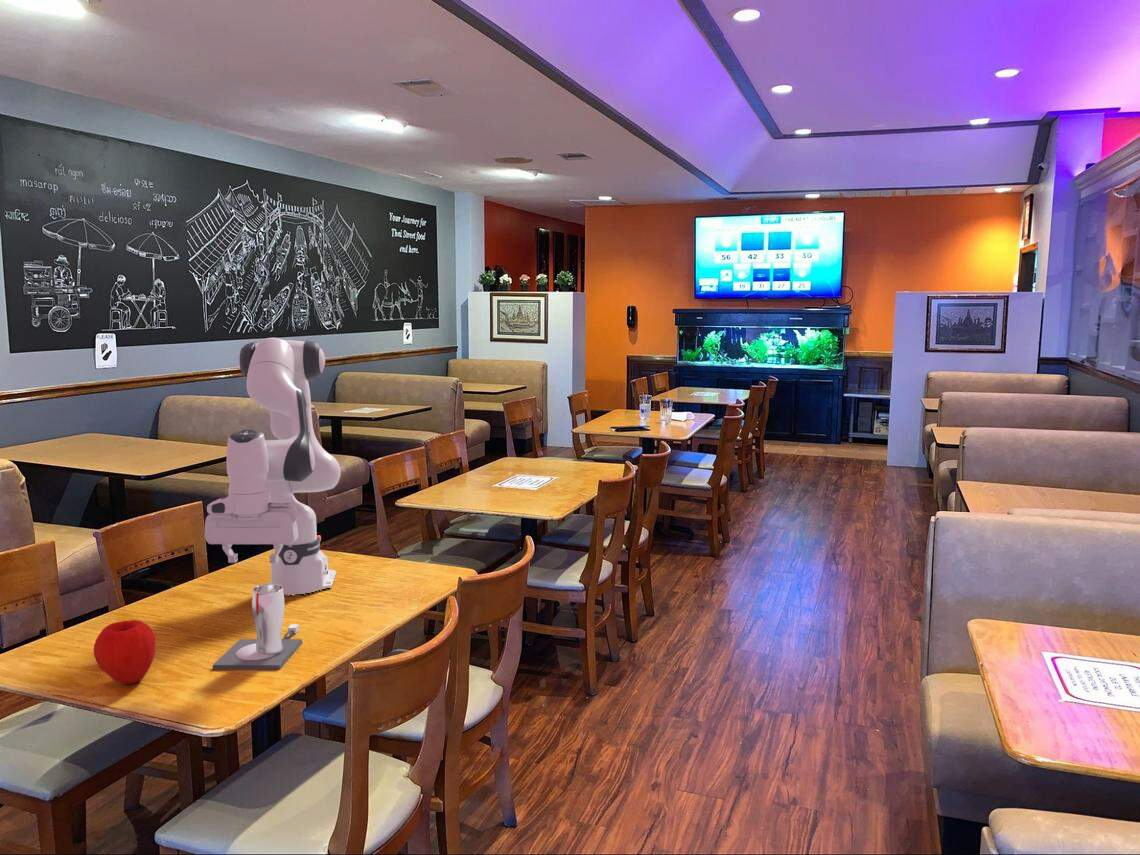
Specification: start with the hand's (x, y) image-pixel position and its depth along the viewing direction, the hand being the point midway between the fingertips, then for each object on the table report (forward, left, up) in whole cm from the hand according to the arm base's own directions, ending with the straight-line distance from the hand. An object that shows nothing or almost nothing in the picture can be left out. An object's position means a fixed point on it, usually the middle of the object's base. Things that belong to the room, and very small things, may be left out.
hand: (253, 562), depth 193 cm
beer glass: (0, +3, -21) cm, 21 cm away
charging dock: (-4, 0, -22) cm, 23 cm away
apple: (+14, -23, -23) cm, 35 cm away
